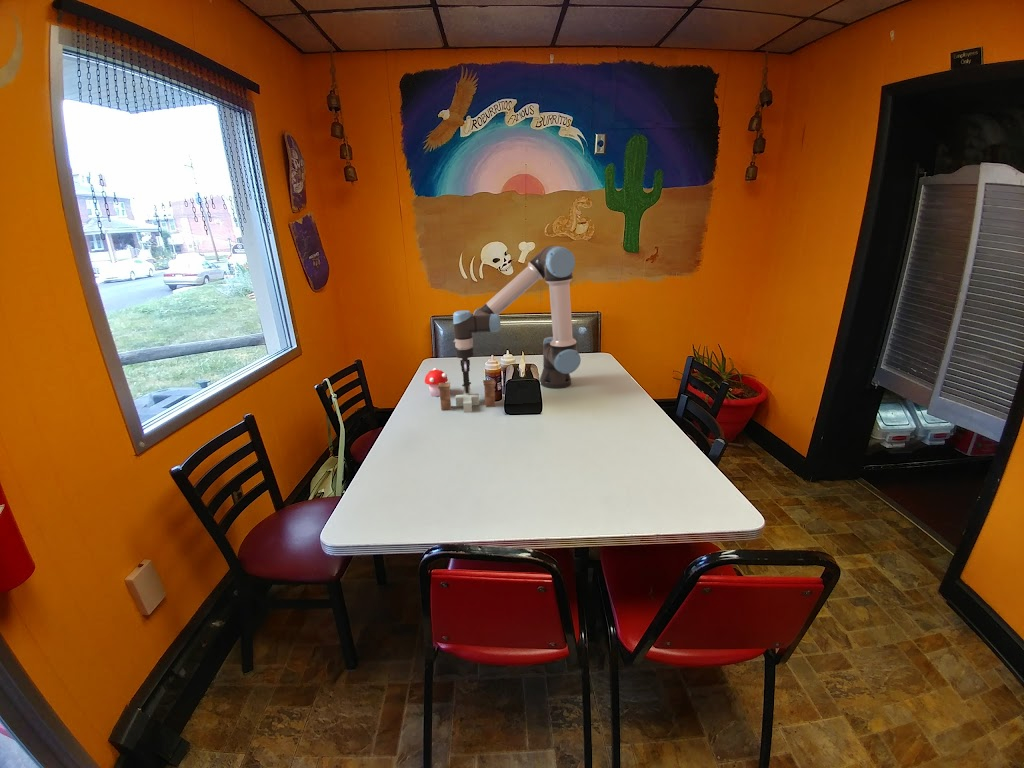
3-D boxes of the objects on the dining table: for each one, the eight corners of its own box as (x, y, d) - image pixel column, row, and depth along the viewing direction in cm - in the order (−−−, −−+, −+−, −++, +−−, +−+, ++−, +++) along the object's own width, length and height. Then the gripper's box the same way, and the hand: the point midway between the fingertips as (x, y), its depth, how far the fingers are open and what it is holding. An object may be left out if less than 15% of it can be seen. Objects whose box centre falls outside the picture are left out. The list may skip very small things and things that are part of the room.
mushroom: (447, 398, 203) (445, 373, 199) (423, 398, 203) (420, 373, 199) (450, 390, 213) (448, 366, 209) (428, 390, 213) (425, 366, 209)
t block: (478, 402, 197) (478, 393, 196) (479, 411, 187) (479, 402, 186) (456, 403, 196) (455, 395, 195) (456, 412, 186) (455, 404, 185)
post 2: (495, 402, 196) (494, 379, 192) (496, 406, 191) (495, 383, 188) (484, 403, 195) (483, 380, 192) (485, 407, 191) (483, 383, 187)
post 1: (451, 405, 194) (450, 382, 190) (451, 409, 189) (449, 386, 186) (440, 406, 194) (438, 383, 190) (440, 410, 189) (438, 386, 185)
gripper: (455, 344, 195) (459, 394, 203) (455, 352, 182) (459, 405, 190) (472, 343, 195) (475, 393, 203) (473, 351, 183) (476, 404, 191)
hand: (467, 399), depth 197 cm, fingers closed
